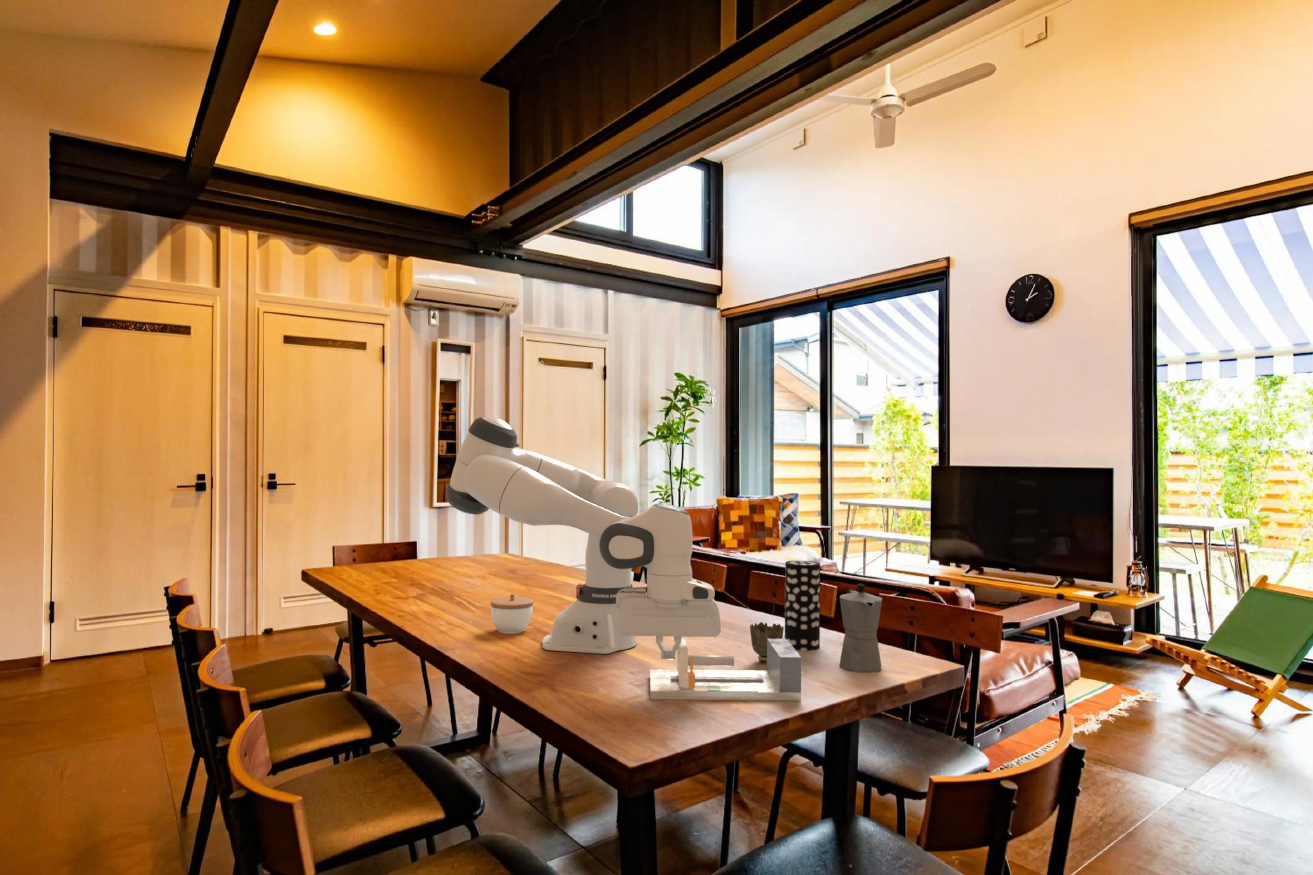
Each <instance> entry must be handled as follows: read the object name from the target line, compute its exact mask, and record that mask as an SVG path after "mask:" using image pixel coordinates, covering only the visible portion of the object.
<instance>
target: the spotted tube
mask: <svg viewBox="0 0 1313 875" xmlns="http://www.w3.org/2000/svg"><path fill="white" fill-rule="evenodd" d="M784 572H785V573H784V575H785V576H784V587H785V588H784V639H787V640H788V641H789V643H790V644H791V645H792V646H793V648H794V649H795V650H796V651H801V652H803V651H805V652H807V651H808V652H809V651H816V650H817V651H818V650H819V649H820V648H821V647H820V646H821V645H820V644H821V643H820V641H821V640H820V639H821V637H820V635H821V631H820V630H821V563H820V562H817V561H811V560H788V561H785V567H784Z"/></svg>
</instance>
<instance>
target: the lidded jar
mask: <svg viewBox="0 0 1313 875" xmlns="http://www.w3.org/2000/svg"><path fill="white" fill-rule="evenodd" d="M533 607H534V600H533V599H532V598H529V597H525V596H522V597H521V596H515V594H514V593H510V594H509V596H508V597H507V596H506V597H499V598H494V599H492V600H491V601H490V615H491V621H492V624H493V626H494V627H495V628H496V629H497V630H498V631H499V633H501V634H505V635H513V634H514V635H515V634H517V635H518V634H520V633H524V631H525V629H526V628H527V627H528V626H529V624H530V623H531V621H532V617H533Z"/></svg>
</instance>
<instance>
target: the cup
mask: <svg viewBox="0 0 1313 875" xmlns="http://www.w3.org/2000/svg"><path fill="white" fill-rule="evenodd" d="M749 630H750V639H751V640H750V641H751V646H752V650H753V651H754V652H755V654H756V655H758V656H757V659H758V661H759V662H760V663H762V664H767V639H784V631H785V626H784V625H781V624H780V623H778V624H776V623H772V626H771V625H768V623H767V622H765V623H764V622H762V621H760V622H759V623H758V624H757V622H755V623H754V624H753V623H751V624H750V625H749Z"/></svg>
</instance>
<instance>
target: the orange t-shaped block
mask: <svg viewBox="0 0 1313 875" xmlns="http://www.w3.org/2000/svg"><path fill="white" fill-rule="evenodd" d="M689 667H690V669H689V670H690V672H688V676H689V685H688V688H695V673H694V672H693V670H694V669H693V667H694V666H693V656H690V666H689Z"/></svg>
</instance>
